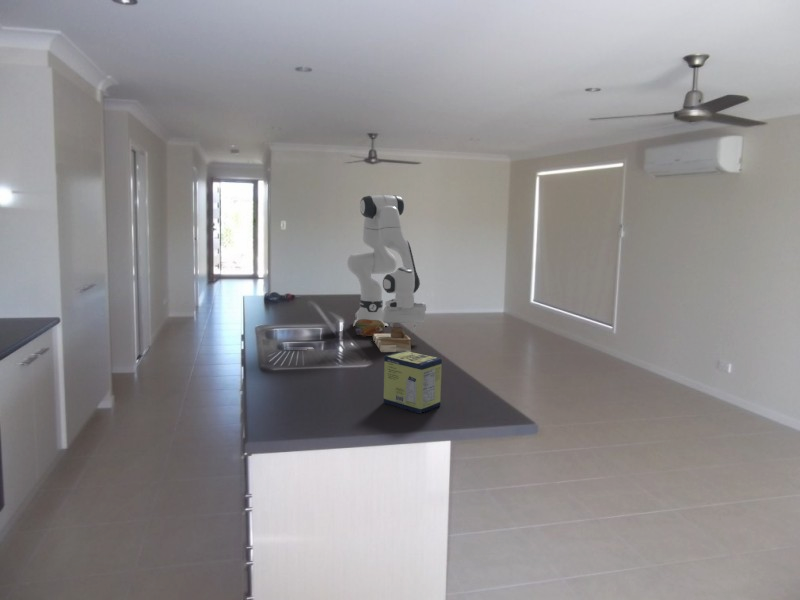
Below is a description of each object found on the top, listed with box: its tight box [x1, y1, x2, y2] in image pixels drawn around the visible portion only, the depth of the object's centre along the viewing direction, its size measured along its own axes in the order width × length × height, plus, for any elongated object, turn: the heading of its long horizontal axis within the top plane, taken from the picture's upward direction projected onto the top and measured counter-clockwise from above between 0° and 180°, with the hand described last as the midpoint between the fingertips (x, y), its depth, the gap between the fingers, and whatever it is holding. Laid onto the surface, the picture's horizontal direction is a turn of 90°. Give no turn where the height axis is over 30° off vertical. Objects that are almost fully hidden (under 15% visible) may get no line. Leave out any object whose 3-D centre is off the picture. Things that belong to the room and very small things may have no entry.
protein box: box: [383, 351, 443, 414], centre depth 185 cm, size 10×16×16 cm
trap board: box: [372, 330, 412, 353], centre depth 266 cm, size 24×13×6 cm, turn 11°
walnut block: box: [390, 326, 404, 338], centre depth 271 cm, size 4×4×4 cm
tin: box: [353, 319, 386, 338], centre depth 285 cm, size 15×3×8 cm, turn 73°
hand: (403, 331), depth 274 cm, fingers open, 8 cm apart
